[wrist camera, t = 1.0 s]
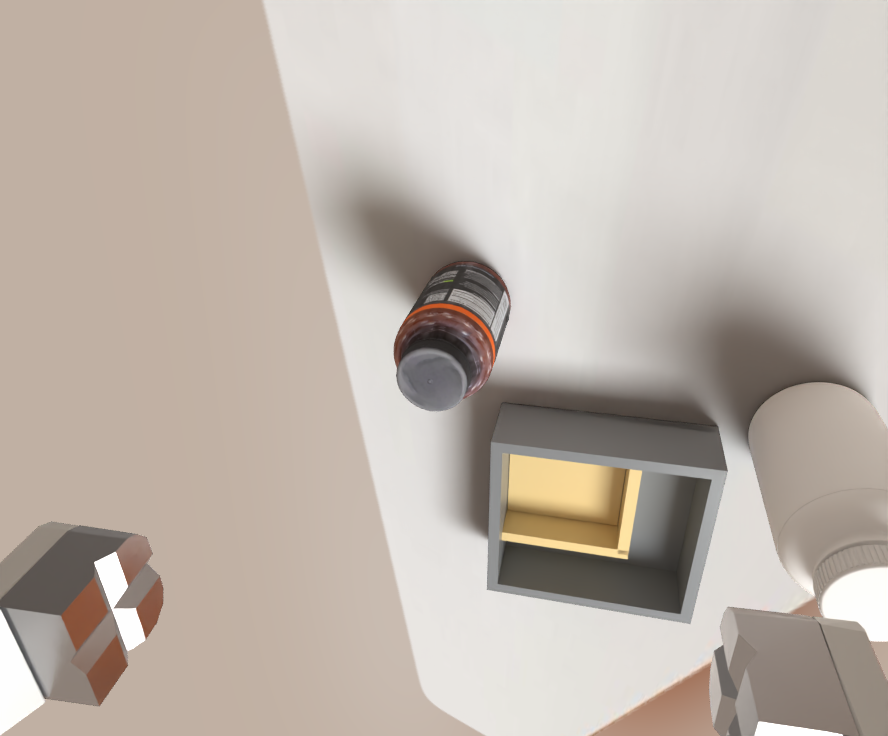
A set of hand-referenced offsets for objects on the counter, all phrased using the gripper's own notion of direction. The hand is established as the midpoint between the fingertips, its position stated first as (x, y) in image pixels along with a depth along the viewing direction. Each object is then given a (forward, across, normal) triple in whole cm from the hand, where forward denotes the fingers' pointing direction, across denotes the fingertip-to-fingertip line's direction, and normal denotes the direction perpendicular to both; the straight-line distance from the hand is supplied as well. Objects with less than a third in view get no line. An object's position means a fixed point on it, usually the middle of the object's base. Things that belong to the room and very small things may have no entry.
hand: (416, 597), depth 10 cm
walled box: (+35, -5, +26) cm, 44 cm away
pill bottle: (+35, -18, +19) cm, 44 cm away
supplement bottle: (+36, +5, +11) cm, 38 cm away
